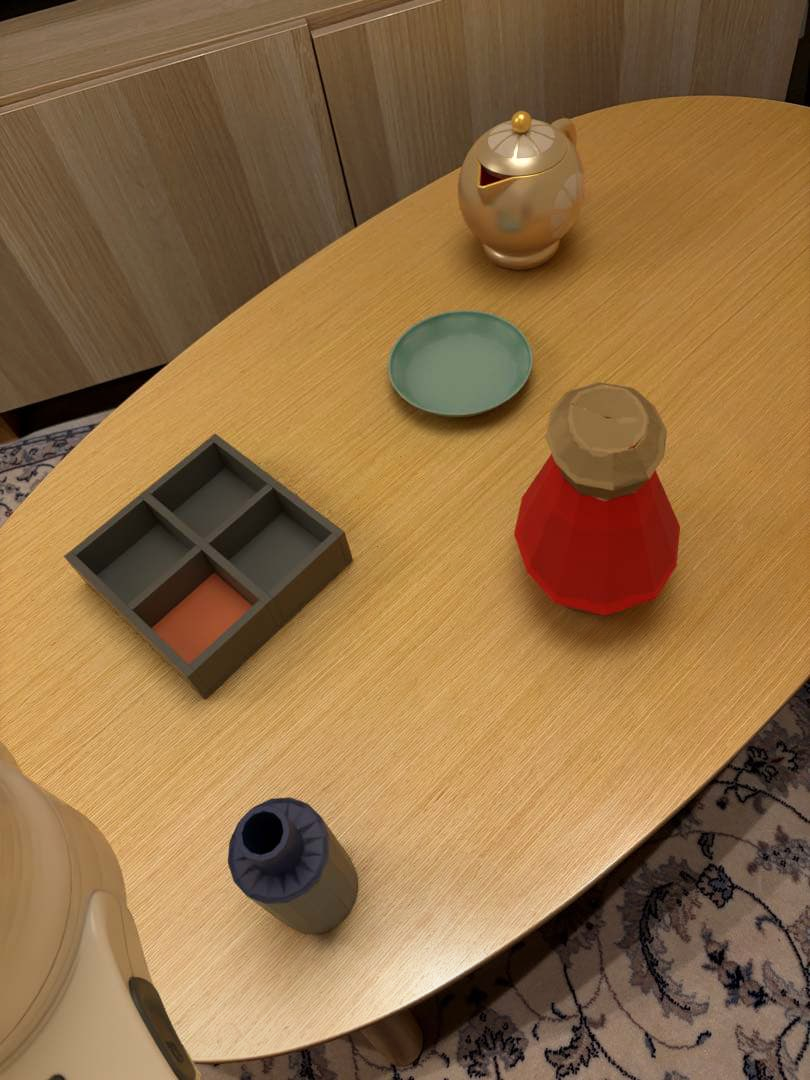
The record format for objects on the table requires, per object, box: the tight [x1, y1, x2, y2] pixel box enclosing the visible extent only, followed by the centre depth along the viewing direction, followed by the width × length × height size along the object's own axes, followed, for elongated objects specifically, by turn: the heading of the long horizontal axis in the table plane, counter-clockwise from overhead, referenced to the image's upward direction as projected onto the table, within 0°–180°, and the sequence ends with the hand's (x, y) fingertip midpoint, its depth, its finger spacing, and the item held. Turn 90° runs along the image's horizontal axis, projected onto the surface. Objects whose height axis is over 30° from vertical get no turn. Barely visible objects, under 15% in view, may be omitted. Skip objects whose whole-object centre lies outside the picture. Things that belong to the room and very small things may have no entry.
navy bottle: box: [227, 796, 359, 935], centre depth 58 cm, size 6×6×16 cm
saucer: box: [387, 309, 534, 418], centre depth 89 cm, size 15×15×3 cm
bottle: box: [513, 381, 681, 616], centre depth 68 cm, size 16×14×20 cm
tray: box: [63, 433, 354, 700], centre depth 78 cm, size 18×18×5 cm
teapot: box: [457, 110, 586, 271], centre depth 94 cm, size 18×14×16 cm
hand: (119, 975), depth 37 cm, fingers open, 8 cm apart
